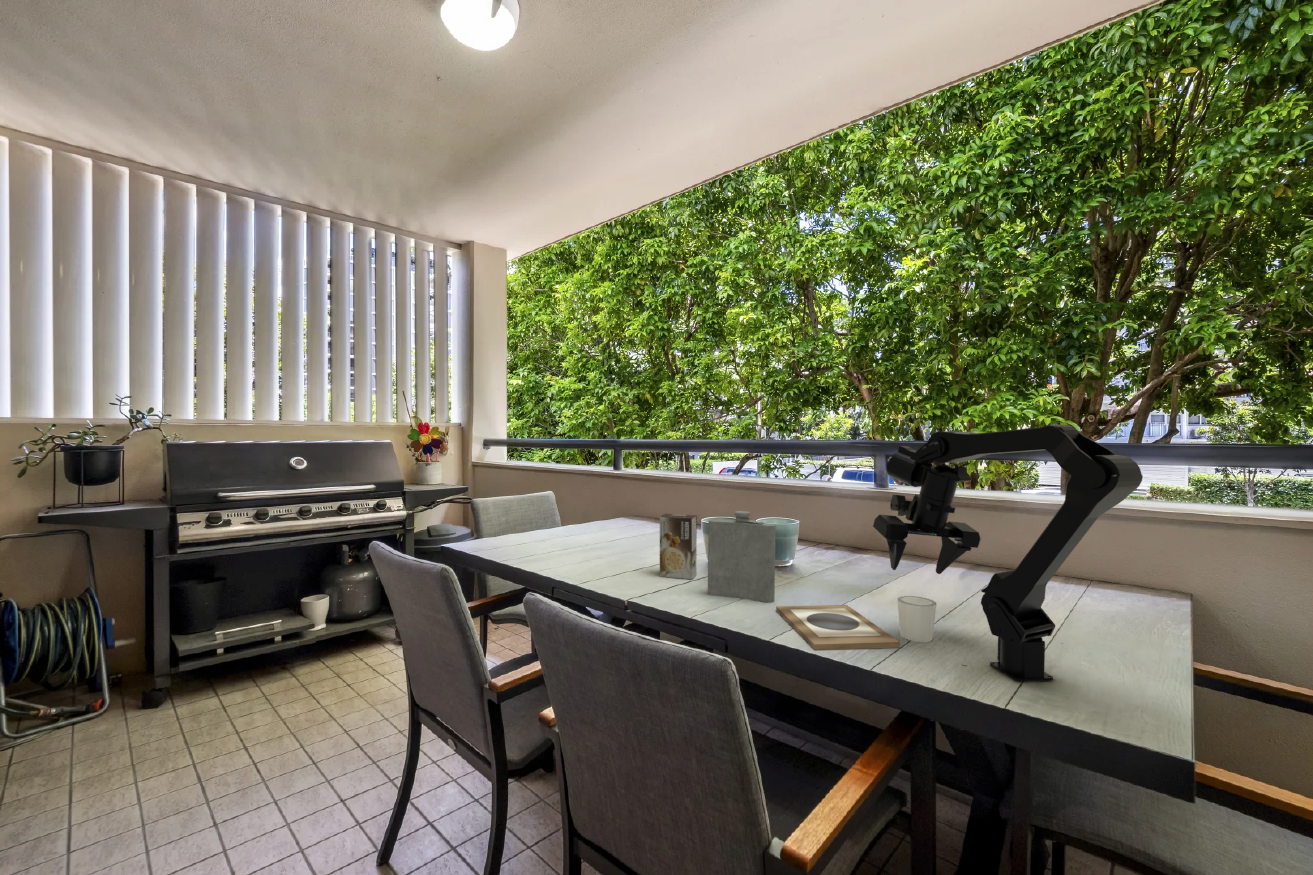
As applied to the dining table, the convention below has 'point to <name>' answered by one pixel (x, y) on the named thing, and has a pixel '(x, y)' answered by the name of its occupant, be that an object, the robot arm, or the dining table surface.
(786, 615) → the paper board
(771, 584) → the hip flask
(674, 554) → the coffee box
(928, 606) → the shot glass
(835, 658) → the dining table surface
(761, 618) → the dining table surface
